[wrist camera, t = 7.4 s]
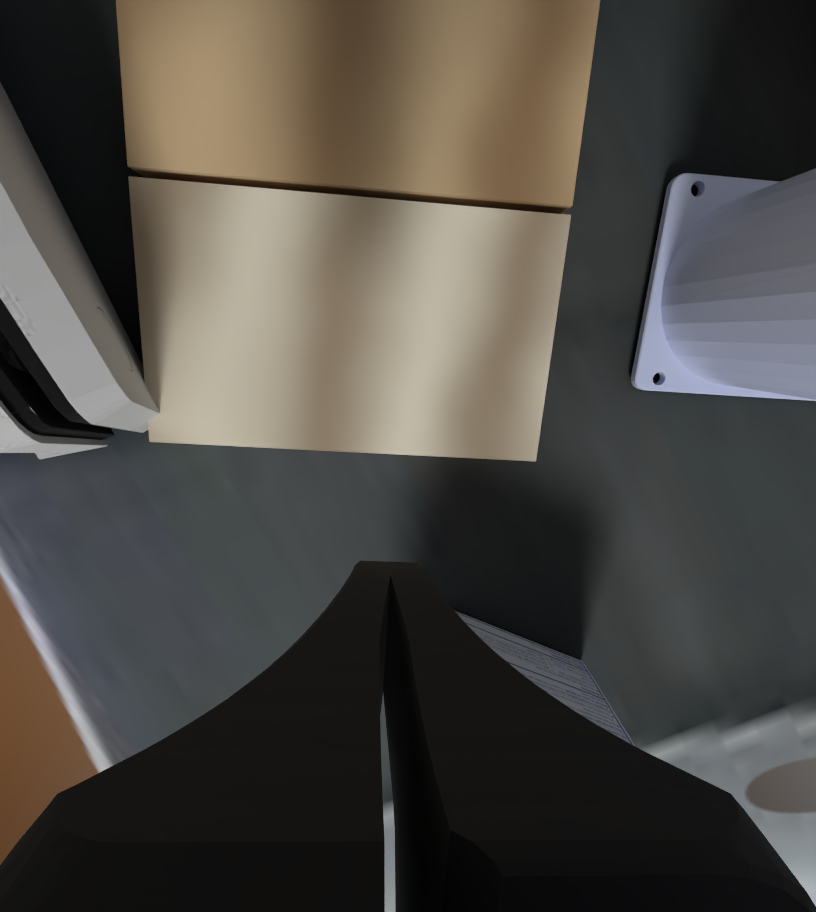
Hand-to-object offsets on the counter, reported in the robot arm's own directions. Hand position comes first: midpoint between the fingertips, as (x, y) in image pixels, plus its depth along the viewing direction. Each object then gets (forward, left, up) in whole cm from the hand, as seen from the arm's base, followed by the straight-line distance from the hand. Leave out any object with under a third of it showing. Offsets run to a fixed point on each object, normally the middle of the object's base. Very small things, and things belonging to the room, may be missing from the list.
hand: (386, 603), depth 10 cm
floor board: (+2, -6, -10) cm, 12 cm away
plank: (+1, -14, -10) cm, 18 cm away
